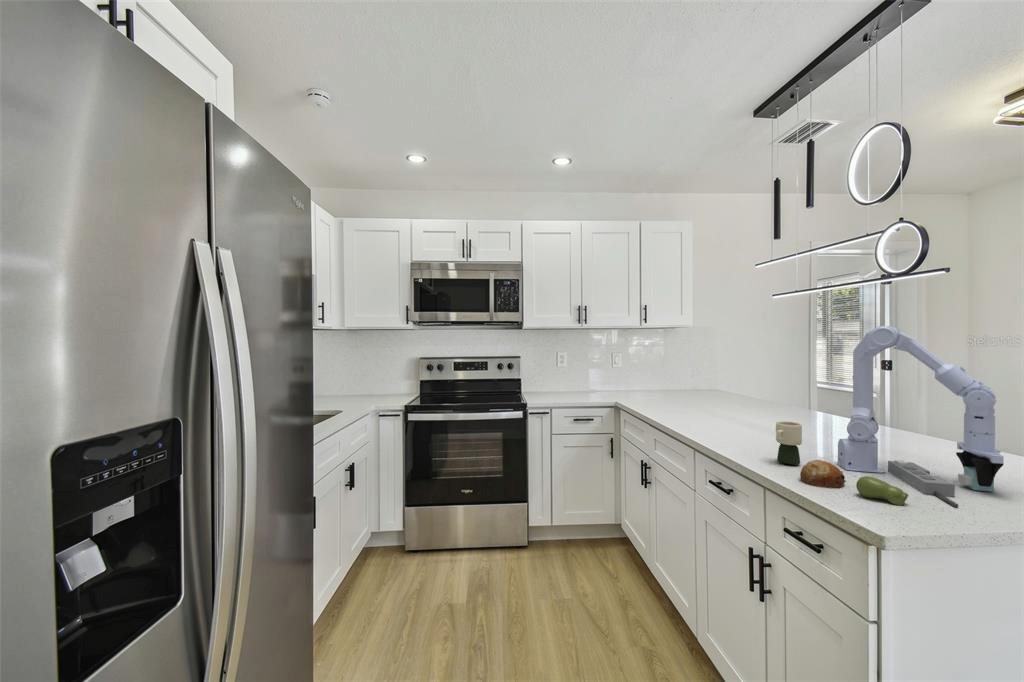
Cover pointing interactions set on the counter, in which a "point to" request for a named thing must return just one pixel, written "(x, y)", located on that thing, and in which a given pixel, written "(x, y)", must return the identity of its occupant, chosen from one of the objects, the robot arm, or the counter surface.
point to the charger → (972, 480)
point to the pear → (880, 490)
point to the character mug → (788, 441)
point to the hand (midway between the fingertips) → (978, 483)
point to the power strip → (923, 480)
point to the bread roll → (822, 474)
